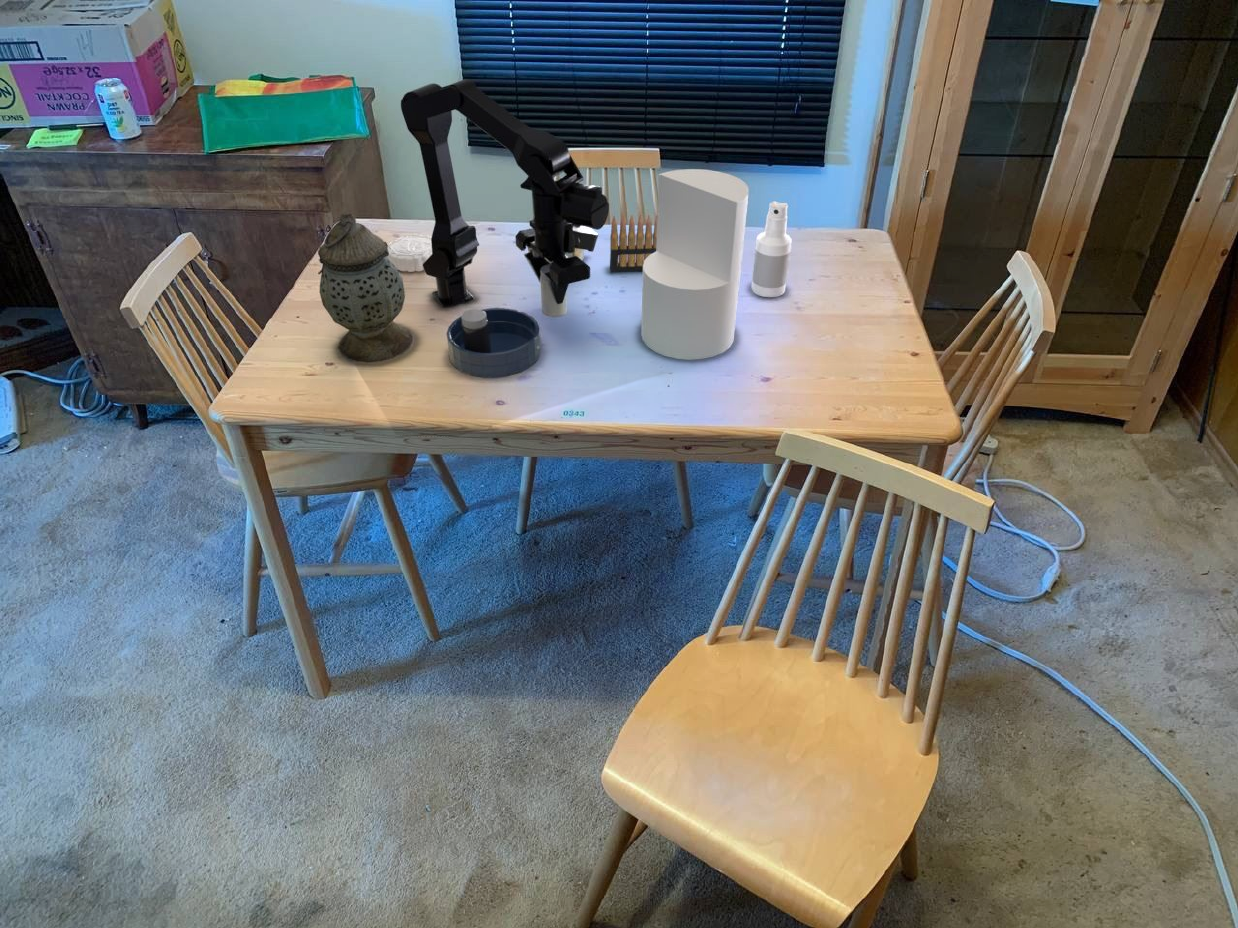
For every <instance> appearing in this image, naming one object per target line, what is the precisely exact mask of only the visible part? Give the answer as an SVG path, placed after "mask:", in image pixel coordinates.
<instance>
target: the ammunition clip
mask: <svg viewBox="0 0 1238 928" xmlns="http://www.w3.org/2000/svg"><path fill="white" fill-rule="evenodd" d="M646 217H647V218H646V222H645V232H644V220H643V216H642V215H641V214H640V215H639V216H638V219H637V227H636V225H635V218H634V216H633V215H630V218H629V221H628V222H629V223H628V232H627V221H626V218H625V216H624V215H622V216H621V219H620V224H619V233H618V222H617V221H618V219H617V217H616V216H615V215H614V216H613V217H612V220H611V229H610V236H609V237H610V239H609V240H610V242H609V243H610V244H609V245H610V247H609V249H610V250H609V251H610V254H609V272H610V273H613V274H615V273H640V272H642V273H643V264H644V260H645V259H646V258H647V257H648V256H649V255H651V254H652V253H654V252H656V244H657V215H656V216H655V220H654V225H653V226H652V224H653V223H652V218H651V215H650V214H648V215H647V216H646ZM652 227H653V228H652ZM627 233H628V234H627Z"/></svg>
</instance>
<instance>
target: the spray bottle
mask: <svg viewBox="0 0 1238 928" xmlns="http://www.w3.org/2000/svg"><path fill="white" fill-rule="evenodd" d="M788 206H789V204H788V203H787V202H784V203H783V202H778V201H775V200H773V201H771V202H769V206H768V207H769V208H768V212H767V214H766V220H765V221H766V222H765V227H764V232H760V234H758V235H757V237H756V242H755V250H754V251H755V253H754V260H753V267H752V268H753V269H752V276H751V277H752V278H751V286H750V287H751V291H752V292H753V293H754V294H755V295H757V296H759V297H763V298H776V297H780V296H782V295H783V294H784V293H785V291H786V286H787V280H788V271H789V265H790V257H791V251H792V244H793V243H792V242H793V239H792V237H791V236H790V235H789V234H787V223H788Z"/></svg>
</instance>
